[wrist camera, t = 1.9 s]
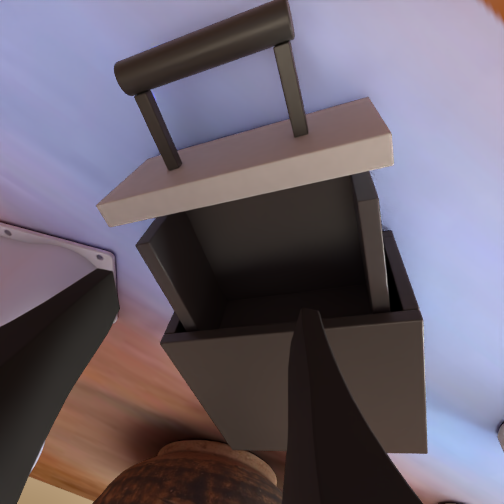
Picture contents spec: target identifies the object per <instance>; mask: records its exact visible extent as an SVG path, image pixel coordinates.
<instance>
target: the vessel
mask: <svg viewBox="0 0 504 504" xmlns="http://www.w3.org/2000/svg"><path fill="white" fill-rule="evenodd" d="M276 483H277V479H276V475H275V473H274V472H273V470H272V469H271V467H270V466H269V465H268V464H267V463H266V462H264V461H263V460H261V459H260V458H258V457H257V456H255V455H253V454H252V453H250V452H248V451H245V450H232V449H231V447H230V446H229V445H228V444H225V443H220V442H216V441H208V440H184V441H178V442H173V443H170V444H168V445H165V446H164V447H163V448H162V449H161V450H160V451H159V453H158V456H157V457H154V458H151V459H148V460H145V461H143V462H140V463H138V464H136V465H134V466H132V467H130V468H128V469H127V470H125V471H124V472H122V473H121V474H120V475H119V476H118V477H117V478H115V479H114V480H113V481H112V482H111V483H110V484H109V485H108V487H107V488H106V489H105V490H104V492H103V493H102V494H101V495H100V496H99V497H98V498H97V499H96V500H95V501H94V502H93V504H282V496H283V492H282V491H281V490H280V489H279V488H278V487H277V486H276Z"/></svg>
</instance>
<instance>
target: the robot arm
mask: <svg viewBox="0 0 504 504" xmlns="http://www.w3.org/2000/svg"><path fill="white" fill-rule="evenodd" d="M100 255H101V256H102V257H101V256H100ZM119 309H120V307H119V302H118V296H117V291H116V269H115V257H114V255H113V254H112V253H111V252H109V251H105V250H101V249H97V248H94V247H90V246H86V245H83V244H79V243H75V242H71V241H68V240H64V239H60V238H57V237H53V236H49V235H46V234H42V233H38V232H34V231H31V230H27V229H23V228H20V227H16V226H12V225H8V224H5V223H1V222H0V504H17V502H18V500H19V497H20V495H21V493H22V490H23V488H24V486H25V483H26V481H27V478H28V476H29V474H30V473H31V471H32V470H33V468H34V466H35V464H36V463H37V461H38V459H39V457H40V455H41V452H42V450H43V447H44V444H45V440H46V438H47V436H48V434H49V432H50V429H51V427H52V425H53V423H54V421H55V419H56V417H57V416H58V414H59V412H60V410H61V408H62V406H63V404H64V402H65V400H66V398H67V396H68V395H69V393H70V391H71V390H72V388H73V386H74V385H75V383H76V381H77V380H78V378H79V377H80V375H81V374H82V372H83V371H84V369H85V368H86V366H87V365H88V363H89V362H90V360H91V358H92V357H93V355H94V354H95V352H96V351H97V349H98V348H99V346H100V345H101V343H102V342H103V340H104V338H105V337H106V335H107V334H108V332H109V330H110V328H111V326H112V324H113V323H115V322H116V321H117V319H118V311H119ZM282 504H423V503H422V502H421V500H420V499H419V498H418V496H417V495H416V494H415V492H414V491H413V490H412V489H411V487H410V486H409V484H408V483H407V482H406V480H405V479H404V478H403V476H402V475H401V473H400V472H399V471H398V469H397V468H396V467H395V465H394V464H393V462H392V461H391V459H390V458H389V456H388V455H387V453H386V452H385V450H384V449H383V447H382V446H381V444H380V442H379V441H378V439H377V438H376V436H375V435H374V433H373V432H372V430H371V428H370V427H369V425H368V423H367V422H366V420H365V418H364V416H363V415H362V413H361V411H360V409H359V407H358V406H357V404H356V402H355V400H354V398H353V396H352V394H351V392H350V390H349V388H348V386H347V384H346V382H345V380H344V378H343V376H342V373H341V371H340V369H339V367H338V364H337V362H336V359H335V357H334V354H333V352H332V349H331V347H330V344H329V341H328V338H327V335H326V332H325V329H324V326H323V323H322V319H321V315H320V313H319V311H318V310H313V309H308V308H303V307H301V310H300V313H299V317H298V320H297V323H296V327H295V330H294V333H293V337H292V340H291V345H290V354H289V364H288V441H287V453H286V464H285V475H284V485H283V496H282Z"/></svg>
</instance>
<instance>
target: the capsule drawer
mask: <svg viewBox="0 0 504 504" xmlns="http://www.w3.org/2000/svg"><path fill="white" fill-rule="evenodd" d="M294 37H295V34H294V27H293V22H292V16H291V12H290V7H289V3H288V0H273V1H271V2H268V3H266V4H263V5H261V6H258V7H255V8H253V9H250V10H248V11H245V12H243V13H240V14H238V15H235V16H233V17H230V18H228V19H225V20H222V21H220V22H217V23H215V24H212V25H210V26H207V27H205V28H202V29H200V30H197V31H195V32H192V33H189V34H187V35H184V36H182V37H179V38H177V39H174V40H172V41H169V42H167V43H164V44H162V45H159V46H156V47H154V48H151V49H149V50H146V51H144V52H141V53H139V54H136V55H134V56H131V57H129V58H126V59H123V60H121V61H118V62H116V64H115V65H114V73H115V77H116V80H117V82H118V84H119V86H120V87H121V89H122V90H123V91H124V92H125V93H126V94H127V95H129V96H134V95H135V96H134V98H135V100H136V102H137V104H138V107H139V109H140V111H141V113H142V115H143V117H144V120H145V122H146V124H147V126H148V128H149V130H150V132H151V135H152V137H153V139H154V141H155V143H156V145H157V148H158V150H159V152H160V154H161V155H160V156H156V157H152V158H149V159H147V160H146V161H145V162H144V163H142V164H141V165H140V166H139V167H138V168H137V169H136V170H135V171H134V172H132V173H131V174H130V175H129V176H128V177H127V178H126V179H125V180H124V181H122V182H121V183H120V184H119V185H118V186H117V187H116V188H115V189H114V190H112V191H111V192H110V193H109V194H108V195H107V196H106V197H105V198H104V199H102V200H101V201H100V202H99V203H98V204H97V205H96V207H97V208H98V210H99V211H100V213H101V215H102V216H103V218H104V219H105V221H106V223H107V224H108V226H109V227H114V226H119V225H123V224H128V223H133V222H137V221H142V220H146V219H151V218H155V217H156V219H155V220H154V221H153V223H152V224H151V225H150V227H149V228H148V229H147V231H146V232H145V233H144V234H143V236H142V237H141V238H140V240H139V241H138V242H137V244H136V248H137V249H138V251H139V253H140V254H141V256H142V258H143V259H144V261H145V263H146V264H147V266H148V268H149V269H150V271H151V273H152V274H153V276H154V278H155V279H156V281H157V283H158V284H159V286H160V288H161V289H162V291H163V293H164V294H165V296H166V298H167V299H168V301H169V303H170V304H171V306H172V308H173V309H174V311H175V313H176V314H177V316H178V318H179V319H180V321H181V323H182V324H183V326H184V328H185V329H186V331H187V332H193V331H203V330H214V329H224V328H234V327H244V326H254V325H265V324H275V323H285V322H295V321H297V320H298V317H299V313H300V310H301V307H303V308H308V309H313V310H318V311H319V313H320V315H321V319H326V318H336V317H346V316H356V315H366V314H377V313H387V312H391V310H390V301H389V291H388V282H387V273H386V263H385V254H384V244H383V235H382V225H381V216H380V206H379V198H378V195H377V192H376V189H375V187H374V184H373V181H372V178H371V175H370V172H369V171H370V170H375V169H379V168H384V167H388V166H392V165H393V164H394V159H393V145H392V134H391V132H390V130H389V129H388V127H387V126H386V124H385V122H384V121H383V119H382V118H381V116H380V114H379V113H378V111H377V110H376V108H375V107H374V105H373V103H372V102H371V100H370V99H369V97H366V98H362V99H359V100H355V101H351V102H348V103H344V104H341V105H337V106H334V107H330V108H327V109H323V110H320V111H316V112H312V113H309V114H305V110H304V105H303V101H302V96H301V91H300V86H299V81H298V76H297V72H296V67H295V62H294V57H293V52H292V47H291V43H290V41H291V40H293V39H294ZM273 46H274V48H273V49H274V53H275V58H276V62H277V66H278V71H279V75H280V79H281V83H282V88H283V92H284V96H285V101H286V105H287V109H288V113H289V118H290V119H288V120H284V121H280V122H277V123H273V124H270V125H266V126H263V127H259V128H256V129H252V130H248V131H245V132H241V133H238V134H234V135H231V136H227V137H224V138H220V139H216V140H213V141H209V142H206V143H202V144H199V145H195V146H192V147H188V148H184V149H181V150H176V147H175V145H174V143H173V140H172V138H171V136H170V133H169V131H168V129H167V126H166V124H165V122H164V120H163V117H162V115H161V113H160V110H159V108H158V106H157V103H156V101H155V99H154V97H153V94H152V92H151V89H154V88H157V87H160V86H163V85H165V84H168V83H171V82H174V81H177V80H180V79H182V78H185V77H188V76H191V75H194V74H197V73H200V72H202V71H205V70H208V69H211V68H214V67H217V66H219V65H222V64H225V63H228V62H231V61H234V60H237V59H239V58H242V57H245V56H248V55H251V54H254V53H256V52H259V51H262V50H265V49H268V48H271V47H273Z"/></svg>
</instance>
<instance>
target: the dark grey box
mask: <svg viewBox="0 0 504 504" xmlns="http://www.w3.org/2000/svg"><path fill="white" fill-rule="evenodd" d="M382 235H383V244H384V254H385V263H386V273H387V282H388V291H389V301H390V310H391V312H387V313H377V314H366V315H356V316H346V317H336V318H326V319H322V323H323V326H324V329H325V332H326V335H327V338H328V341H329V344H330V347H331V349H332V352H333V354H334V357H335V359H336V362H337V364H338V367H339V369H340V371H341V373H342V376H343V378H344V380H345V382H346V384H347V386H348V388H349V390H350V392H351V394H352V396H353V398H354V400H355V402H356V404H357V406H358V407H359V409H360V411H361V413H362V415H363V416H364V418H365V420H366V422H367V423H368V425H369V427H370V428H371V430H372V432H373V433H374V435H375V436H376V438H377V439H378V441H379V442H380V444H381V446H382V447H383V449H384V450H385V452H386V453H419V454H427V452H428V451H427V420H426V388H425V356H424V325H423V318H422V315H421V312H420V310H419V306H418V303H417V300H416V298H415V295H414V292H413V289H412V286H411V283H410V281H409V278H408V275H407V272H406V269H405V267H404V264H403V261H402V258H401V255H400V252H399V250H398V247H397V244H396V241H395V238H394V235H393V233H392V231H391V230H390V231H384V232H382ZM296 323H297V321H295V322H285V323H275V324H265V325H254V326H244V327H234V328H224V329H214V330H203V331H193V332H187V331H186V329H185V328H184V326H183V324H182V323H181V321H180V319H179V318H178V316H177V314H176V313H175V311H174V313H173V316H172V318H171V320H170V322H169V324H168V326H167V329H166V331H165V333H164V335H163V338H162V340H161V342H160V345H161V346H162V348H163V349H164V350H165V352H166V353H167V355H168V356H169V358H170V359H171V361H172V362H173V364H174V365H175V367H176V368H177V369H178V371H179V372H180V374H181V375H182V377H183V378H184V380H185V381H186V383H187V384H188V386H189V387H190V389H191V390H192V391H193V393H194V394H195V396H196V397H197V399H198V400H199V402H200V403H201V405H202V406H203V408H204V409H205V411H206V412H207V413H208V415H209V416H210V418H211V419H212V421H213V422H214V424H215V425H216V427H217V428H218V430H219V431H220V432H221V434H222V435H223V437H224V438H225V440H226V441H227V443H228V444H229V446H230V447H231V449H232V450H254V451H287V441H288V364H289V354H290V345H291V340H292V337H293V333H294V330H295V327H296Z"/></svg>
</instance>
